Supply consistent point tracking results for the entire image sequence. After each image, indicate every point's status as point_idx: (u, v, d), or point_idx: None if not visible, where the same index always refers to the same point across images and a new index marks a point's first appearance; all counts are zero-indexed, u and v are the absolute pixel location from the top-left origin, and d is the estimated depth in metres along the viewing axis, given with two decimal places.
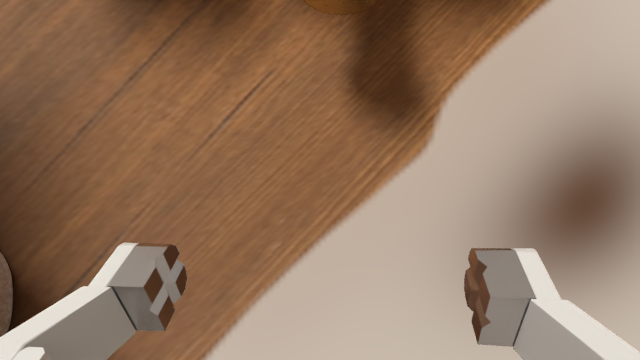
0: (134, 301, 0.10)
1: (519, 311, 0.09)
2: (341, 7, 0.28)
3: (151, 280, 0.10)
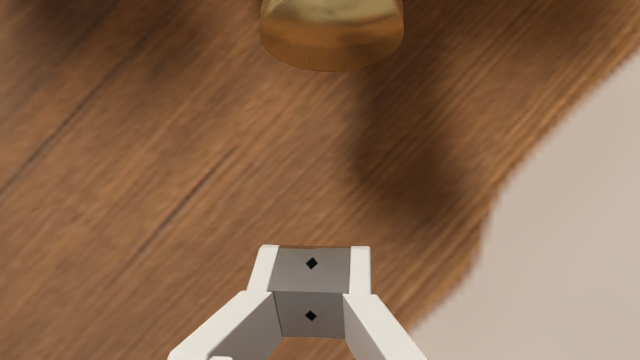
0: (291, 306, 0.09)
1: (338, 305, 0.09)
2: (333, 62, 0.17)
3: (309, 285, 0.09)
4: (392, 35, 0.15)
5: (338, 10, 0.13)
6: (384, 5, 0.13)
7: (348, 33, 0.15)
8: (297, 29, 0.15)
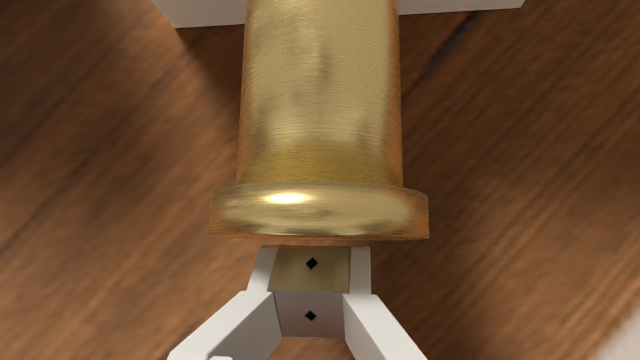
0: (291, 306, 0.09)
1: (338, 306, 0.09)
2: (323, 239, 0.12)
3: (309, 285, 0.09)
4: (411, 238, 0.10)
5: (327, 234, 0.08)
6: (402, 234, 0.08)
7: (344, 237, 0.10)
8: (264, 235, 0.09)
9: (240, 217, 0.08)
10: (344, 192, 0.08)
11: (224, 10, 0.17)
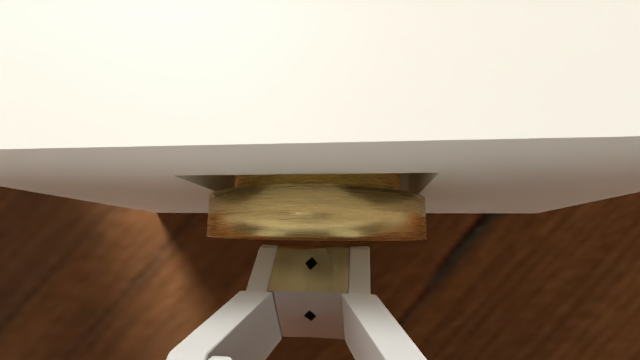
0: (291, 306, 0.09)
1: (338, 306, 0.09)
2: None
3: (309, 285, 0.09)
4: (408, 239, 0.10)
5: (325, 236, 0.08)
6: (399, 236, 0.08)
7: (341, 238, 0.10)
8: (262, 237, 0.10)
9: (238, 220, 0.08)
10: (342, 195, 0.08)
11: None
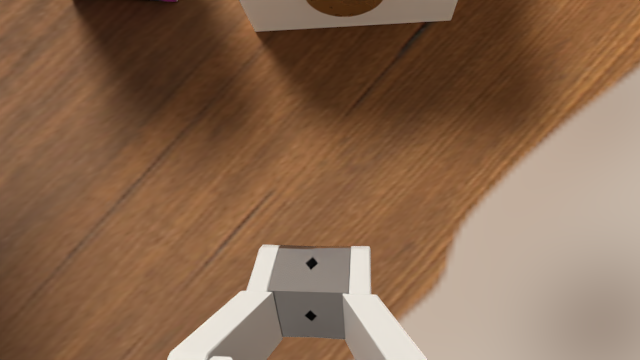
0: (291, 306, 0.09)
1: (338, 305, 0.09)
2: (345, 9, 0.27)
3: (309, 284, 0.09)
4: None
5: None
6: None
7: None
8: None
9: None
10: None
11: (286, 21, 0.31)
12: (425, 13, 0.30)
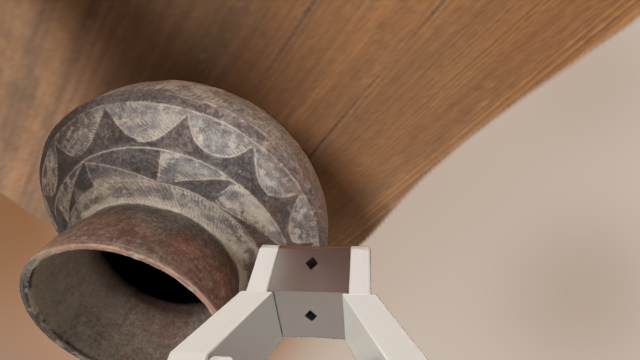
0: (291, 306, 0.09)
1: (338, 306, 0.09)
2: None
3: (309, 285, 0.09)
4: None
5: None
6: None
7: None
8: None
9: None
10: None
11: None
12: None
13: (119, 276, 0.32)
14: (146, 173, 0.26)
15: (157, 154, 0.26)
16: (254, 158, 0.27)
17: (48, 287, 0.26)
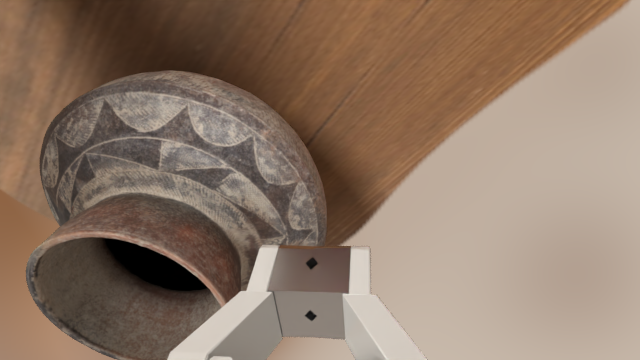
0: (291, 306, 0.09)
1: (338, 306, 0.09)
2: None
3: (309, 284, 0.09)
4: None
5: None
6: None
7: None
8: None
9: None
10: None
11: None
12: None
13: (122, 265, 0.32)
14: (148, 163, 0.26)
15: (158, 144, 0.26)
16: (254, 146, 0.27)
17: (53, 276, 0.27)
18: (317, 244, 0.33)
